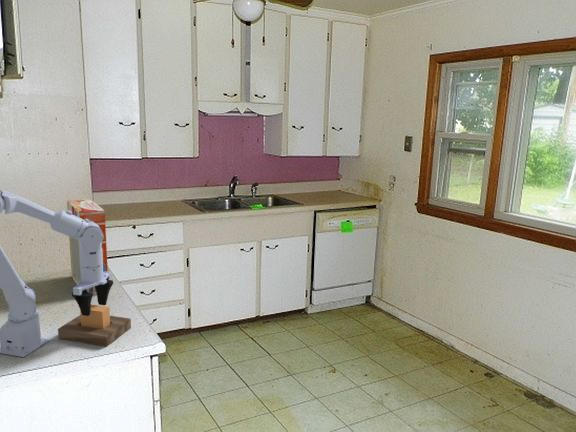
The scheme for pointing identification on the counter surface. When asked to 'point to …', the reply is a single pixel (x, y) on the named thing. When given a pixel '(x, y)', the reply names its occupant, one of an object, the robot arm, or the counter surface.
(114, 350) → the counter surface
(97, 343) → the keyed socket
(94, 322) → the keyed peg
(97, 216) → the cereal box
